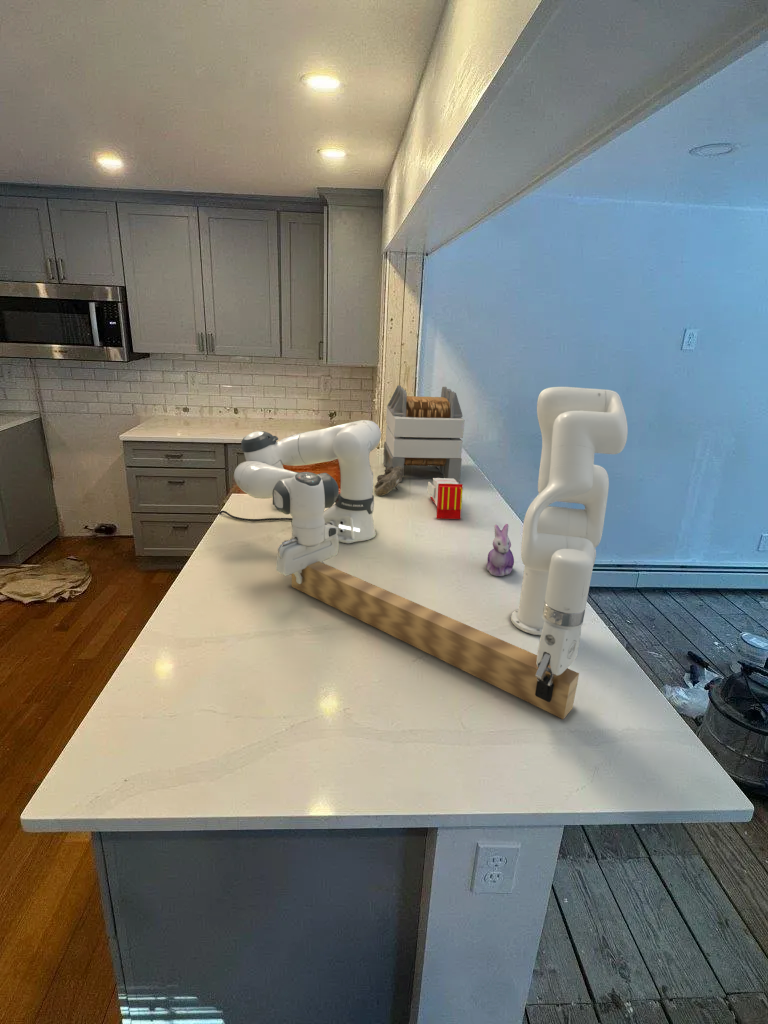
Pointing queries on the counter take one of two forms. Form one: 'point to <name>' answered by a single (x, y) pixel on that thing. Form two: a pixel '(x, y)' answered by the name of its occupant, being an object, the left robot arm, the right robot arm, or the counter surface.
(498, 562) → the figurine
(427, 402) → the grey crate shelf
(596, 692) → the counter surface
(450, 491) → the toy
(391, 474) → the fossil
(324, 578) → the post
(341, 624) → the counter surface
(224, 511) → the left robot arm
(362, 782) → the counter surface
